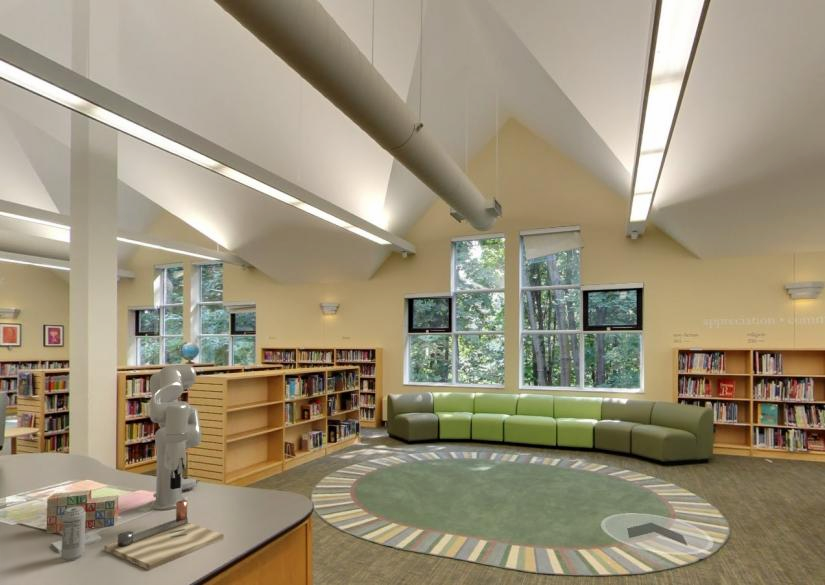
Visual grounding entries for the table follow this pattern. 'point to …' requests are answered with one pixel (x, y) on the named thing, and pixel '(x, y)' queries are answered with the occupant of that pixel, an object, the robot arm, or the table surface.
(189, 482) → the robot toy
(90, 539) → the external hard drive
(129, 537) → the lever
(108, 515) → the stack of blocks
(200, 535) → the board
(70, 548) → the energy drink can
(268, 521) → the table surface
